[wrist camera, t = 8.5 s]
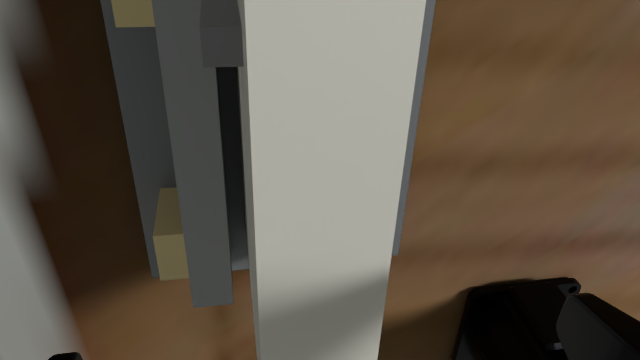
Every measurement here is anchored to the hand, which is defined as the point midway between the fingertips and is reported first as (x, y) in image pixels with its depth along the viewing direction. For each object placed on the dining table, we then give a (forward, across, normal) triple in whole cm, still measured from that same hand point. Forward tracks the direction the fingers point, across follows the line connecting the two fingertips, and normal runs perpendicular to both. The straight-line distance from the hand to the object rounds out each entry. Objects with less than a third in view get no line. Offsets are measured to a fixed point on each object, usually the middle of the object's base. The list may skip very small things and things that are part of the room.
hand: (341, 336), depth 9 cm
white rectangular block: (+11, 0, 0) cm, 11 cm away
